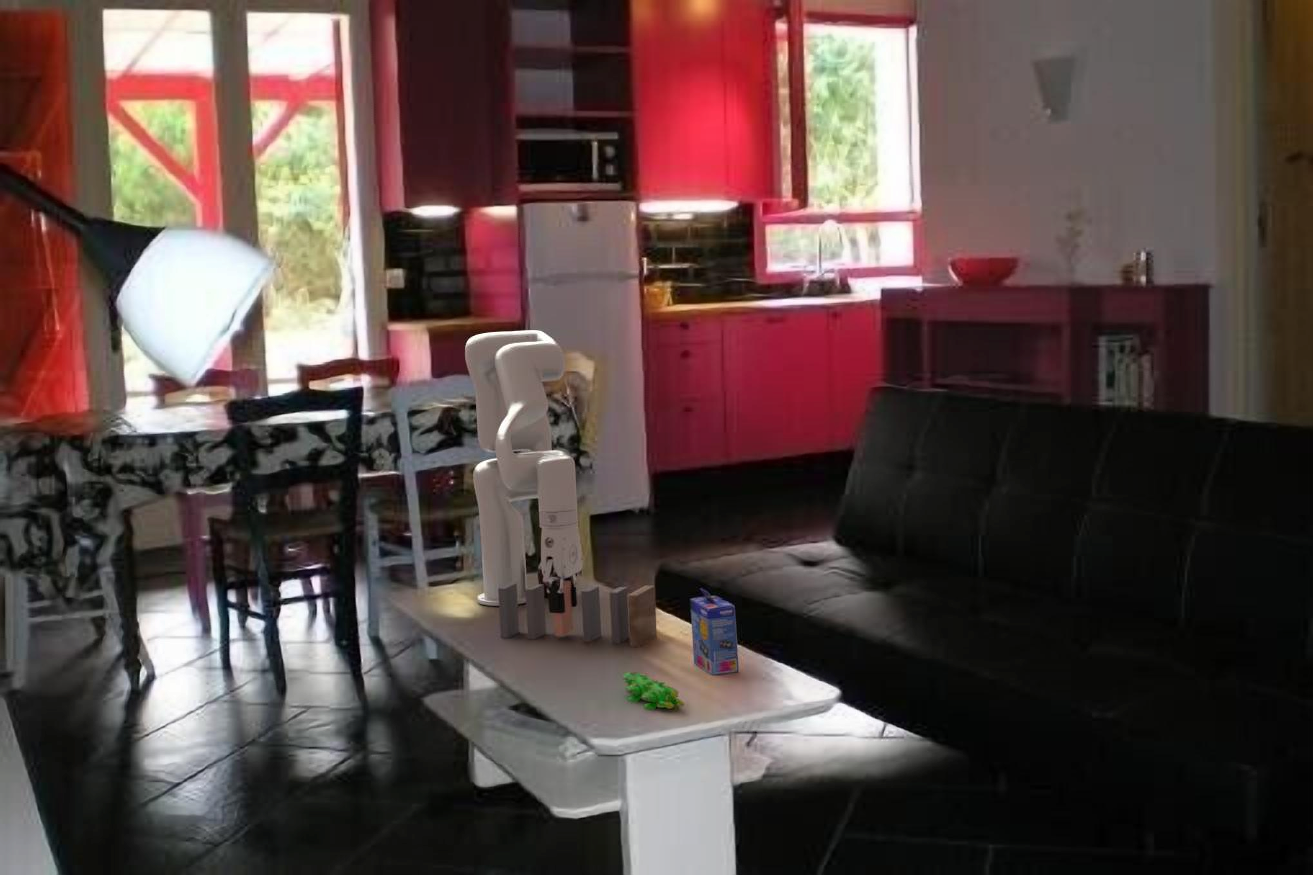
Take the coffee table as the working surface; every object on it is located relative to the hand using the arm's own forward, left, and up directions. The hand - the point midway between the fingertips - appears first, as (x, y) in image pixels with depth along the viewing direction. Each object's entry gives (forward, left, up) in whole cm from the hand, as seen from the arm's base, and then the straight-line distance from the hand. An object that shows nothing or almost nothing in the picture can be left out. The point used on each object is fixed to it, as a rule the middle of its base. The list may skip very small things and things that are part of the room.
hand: (563, 608), depth 311 cm
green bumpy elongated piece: (+48, +18, -6) cm, 52 cm away
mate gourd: (-40, -5, -6) cm, 41 cm away
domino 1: (-4, -11, -6) cm, 13 cm away
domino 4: (+2, +6, -6) cm, 8 cm away
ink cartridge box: (+28, +29, -6) cm, 41 cm away
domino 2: (-2, -6, -6) cm, 8 cm away
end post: (+6, +16, -6) cm, 18 cm away
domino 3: (0, 0, -5) cm, 5 cm away
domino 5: (+4, +11, -6) cm, 13 cm away
